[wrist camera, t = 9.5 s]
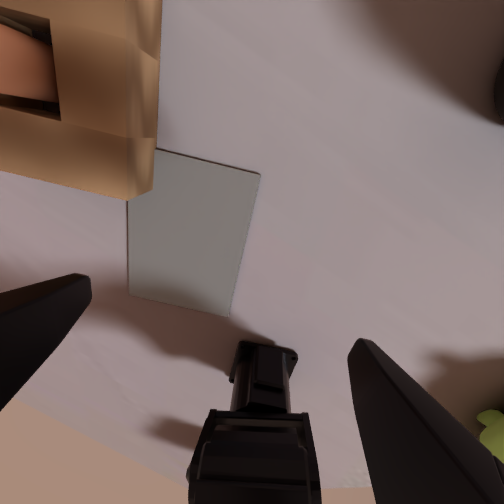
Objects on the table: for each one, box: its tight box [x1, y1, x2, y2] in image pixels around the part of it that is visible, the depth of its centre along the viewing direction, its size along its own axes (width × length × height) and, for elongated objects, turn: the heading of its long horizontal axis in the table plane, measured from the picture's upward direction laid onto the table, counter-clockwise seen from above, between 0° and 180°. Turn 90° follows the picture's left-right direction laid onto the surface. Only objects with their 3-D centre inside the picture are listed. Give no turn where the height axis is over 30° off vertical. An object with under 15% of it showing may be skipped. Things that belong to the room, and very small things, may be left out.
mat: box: [128, 149, 261, 317], centre depth 21 cm, size 14×10×1 cm
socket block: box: [0, 0, 162, 201], centre depth 14 cm, size 12×12×4 cm
